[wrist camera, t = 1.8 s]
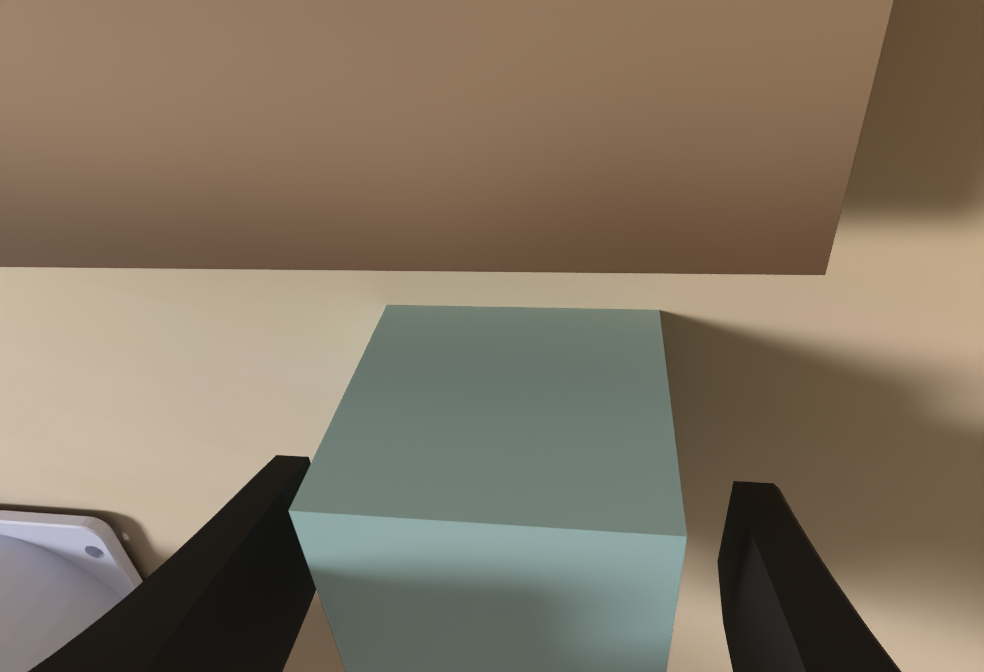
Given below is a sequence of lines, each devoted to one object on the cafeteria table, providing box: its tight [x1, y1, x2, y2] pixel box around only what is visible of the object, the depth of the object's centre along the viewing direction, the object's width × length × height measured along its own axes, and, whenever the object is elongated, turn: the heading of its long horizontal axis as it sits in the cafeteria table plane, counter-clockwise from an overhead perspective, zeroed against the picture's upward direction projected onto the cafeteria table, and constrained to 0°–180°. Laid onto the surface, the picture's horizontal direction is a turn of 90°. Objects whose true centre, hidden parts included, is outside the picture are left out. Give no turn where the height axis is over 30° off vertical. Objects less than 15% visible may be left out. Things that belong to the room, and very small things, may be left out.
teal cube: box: [289, 305, 687, 672], centre depth 12 cm, size 5×5×5 cm
